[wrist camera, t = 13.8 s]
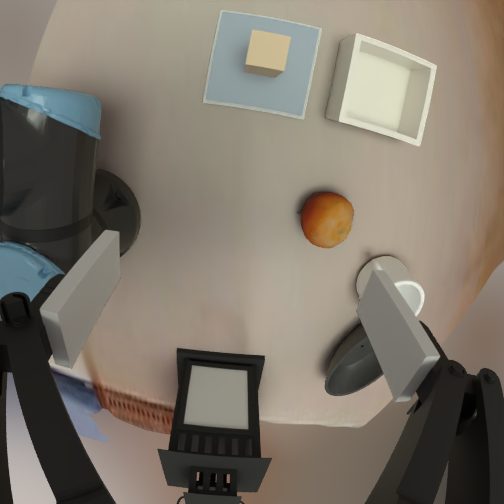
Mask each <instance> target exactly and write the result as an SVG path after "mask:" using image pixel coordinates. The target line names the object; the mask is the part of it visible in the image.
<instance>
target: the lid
mask: <svg viewBox="0 0 504 504" xmlns="http://www.w3.org/2000/svg"><path fill="white" fill-rule="evenodd" d="M318 33H319V29H316V28H312V27H308V26H304V25H300V24H295V23H291V22H286V21H281V20H276V19H271V18H265V17H259V16H253V15H246V14H239V13H231V12H222V17H221V22H220V26H219V31H218V36H217V41H216V46H215V51H214V56H213V61H212V66H211V72H210V77H209V83H208V89H207V94H206V100H214V101H221V102H228V103H235V104H242V105H248V106H254V107H260V108H265V109H271V110H276V111H281V112H286V113H291V114H295V115H300V116H302V113H303V108H304V103H305V98H306V93H307V89H308V84H309V79H310V74H311V69H312V64H313V59H314V54H315V49H316V43H317V38H318Z"/></svg>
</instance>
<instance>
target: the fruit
mask: <svg viewBox="0 0 504 504" xmlns="http://www.w3.org/2000/svg"><path fill="white" fill-rule="evenodd" d="M297 213H299V212H297ZM299 214H301V225H302V229H303V232H304V235H305V237H306V238H307V239H308V240H309V241H310V242H311V243H312V244H314V245H316V246H318V247H322V248H333V247H334V246H336V245H338V244H340V243H341V242H343V241H344V240H345V239H346V238H347V236H348V234H349V232H350V230H351V227H352V222H353V216H354V210H353V207H352V204H351V203H350V202H349V201H348V200H347V199H346V198H345V197H343V196H341V195H339V194H336V193H331V192H320V193H313V195H312V196H311V197H310V198H309V199H308V200H307V201H306V203H305V205H304V208H303V210H302V212H301V213H299Z"/></svg>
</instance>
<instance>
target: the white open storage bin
mask: <svg viewBox="0 0 504 504" xmlns="http://www.w3.org/2000/svg"><path fill="white" fill-rule="evenodd" d="M436 68H437V66H436V65H434V64H432V63H430V62H428V61H426V60H424V59H422V58H419V57H417V56H415V55H413V54H410V53H408V52H406V51H403V50H401V49H399V48H396V47H394V46H391V45H389V44H386V43H384V42H381V41H378V40H376V39H373V38H370V37H367V36H364V35H361V34H358V33H355V34H353V35H351V36H349V37H347V38H345V39H344V40H342V41H340V45H339V50H338V55H337V60H336V66H335V71H334V76H333V80H332V85H331V90H330V95H329V100H328V104H327V109H326V114H325V118H328V119H331V120H335V121H339V122H343V123H346V124H350V125H354V126H357V127H361V128H364V129H368V130H371V131H374V132H377V133H381V134H384V135H387V136H390V137H393V138H396V139H399V140H402V141H405V142H408V143H411V144H414V145H416V146H419V147H420V143H421V140H422V135H423V131H424V127H425V123H426V118H427V114H428V109H429V105H430V100H431V95H432V90H433V85H434V79H435V73H436Z"/></svg>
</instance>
